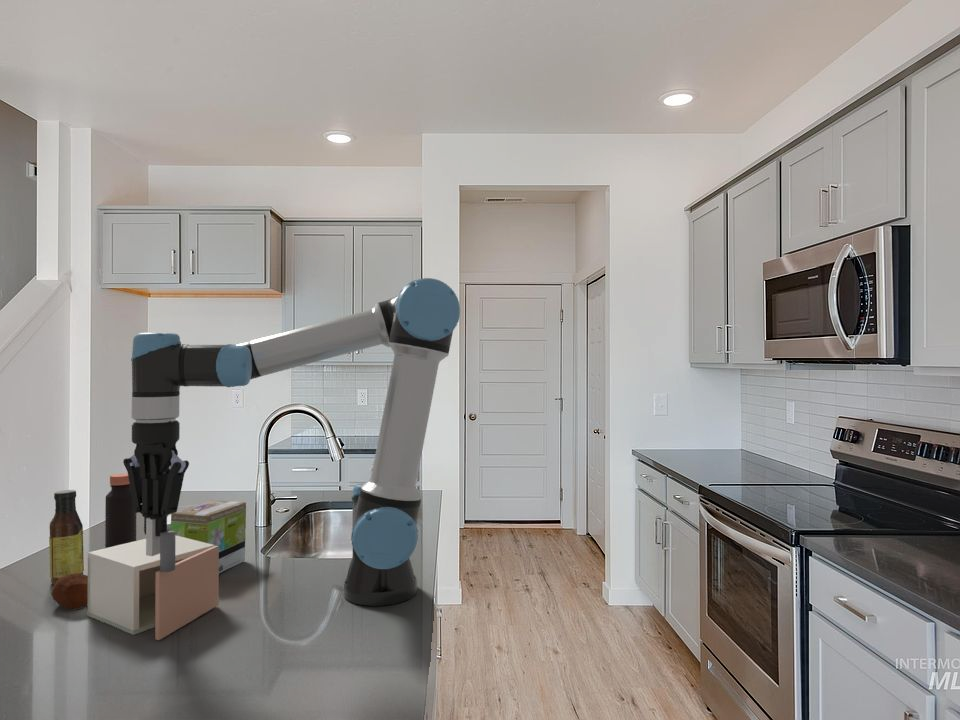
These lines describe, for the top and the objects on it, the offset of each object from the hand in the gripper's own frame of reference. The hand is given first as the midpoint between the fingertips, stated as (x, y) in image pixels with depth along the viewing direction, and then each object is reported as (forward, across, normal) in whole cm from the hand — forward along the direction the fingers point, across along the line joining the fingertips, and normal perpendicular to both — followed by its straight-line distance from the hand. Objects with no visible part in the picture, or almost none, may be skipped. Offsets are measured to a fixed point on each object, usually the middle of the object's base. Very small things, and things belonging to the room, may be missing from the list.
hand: (155, 553), depth 111 cm
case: (+15, +10, -8) cm, 19 cm away
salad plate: (+16, +55, -64) cm, 86 cm away
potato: (+15, +27, -5) cm, 31 cm away
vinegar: (+15, +47, -33) cm, 59 cm away
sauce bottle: (+15, +41, -14) cm, 46 cm away
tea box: (+15, +18, -32) cm, 39 cm away
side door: (+14, -3, -6) cm, 15 cm away
